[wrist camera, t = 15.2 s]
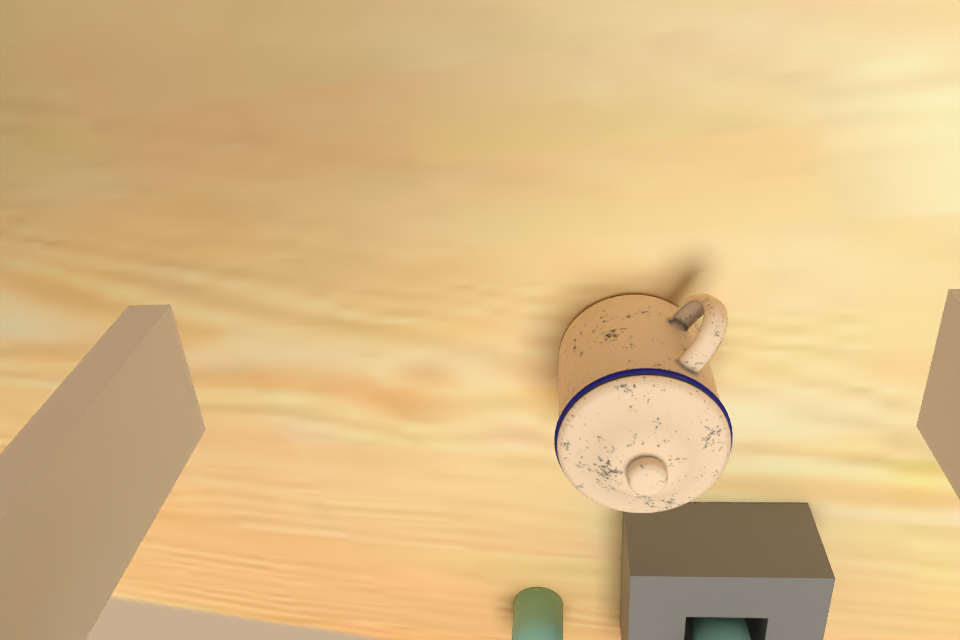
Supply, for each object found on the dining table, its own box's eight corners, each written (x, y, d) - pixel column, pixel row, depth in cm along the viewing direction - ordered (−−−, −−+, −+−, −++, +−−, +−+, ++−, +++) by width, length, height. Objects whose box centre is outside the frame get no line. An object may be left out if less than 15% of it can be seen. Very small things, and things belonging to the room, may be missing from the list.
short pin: (514, 620, 65) (511, 690, 60) (512, 586, 63) (508, 656, 58) (563, 621, 64) (563, 692, 59) (562, 587, 62) (562, 657, 57)
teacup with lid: (650, 436, 55) (671, 575, 45) (527, 374, 53) (520, 505, 43) (770, 295, 49) (825, 418, 39) (636, 221, 48) (658, 330, 38)
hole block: (620, 624, 64) (626, 702, 58) (623, 502, 58) (630, 576, 52) (787, 627, 63) (809, 707, 57) (807, 503, 57) (835, 578, 51)
